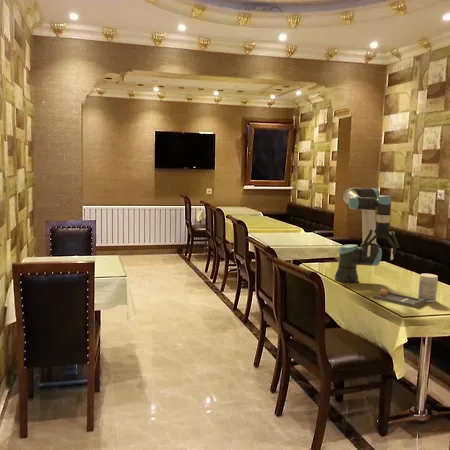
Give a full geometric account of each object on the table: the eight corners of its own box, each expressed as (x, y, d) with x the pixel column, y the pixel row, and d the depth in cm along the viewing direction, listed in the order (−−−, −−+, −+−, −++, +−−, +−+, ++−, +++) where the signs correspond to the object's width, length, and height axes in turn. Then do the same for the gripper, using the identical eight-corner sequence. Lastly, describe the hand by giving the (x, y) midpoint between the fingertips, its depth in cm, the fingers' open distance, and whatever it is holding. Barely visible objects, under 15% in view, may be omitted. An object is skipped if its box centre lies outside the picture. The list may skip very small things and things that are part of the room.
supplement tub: (421, 297, 279) (423, 272, 277) (438, 300, 272) (440, 275, 270) (415, 300, 272) (417, 274, 270) (432, 303, 265) (434, 278, 263)
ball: (378, 295, 276) (379, 288, 276) (381, 294, 279) (382, 287, 278) (385, 297, 273) (385, 290, 273) (388, 295, 276) (388, 289, 276)
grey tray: (372, 297, 273) (373, 292, 273) (383, 293, 283) (383, 288, 283) (416, 307, 256) (416, 302, 256) (426, 303, 266) (426, 297, 266)
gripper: (359, 220, 282) (357, 255, 285) (403, 224, 268) (400, 261, 271) (363, 219, 288) (361, 254, 291) (406, 223, 274) (403, 260, 277)
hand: (379, 257), depth 281 cm, fingers open, 13 cm apart
